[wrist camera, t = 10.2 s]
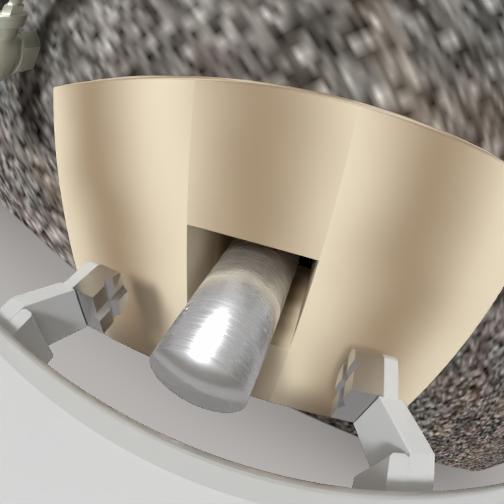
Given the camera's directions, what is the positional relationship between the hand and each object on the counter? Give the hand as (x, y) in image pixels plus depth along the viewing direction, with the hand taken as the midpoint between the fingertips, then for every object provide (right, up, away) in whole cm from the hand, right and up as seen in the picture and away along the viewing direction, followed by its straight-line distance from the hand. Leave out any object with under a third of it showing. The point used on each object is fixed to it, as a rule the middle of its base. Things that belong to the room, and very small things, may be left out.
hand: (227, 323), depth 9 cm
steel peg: (+2, +4, +6) cm, 8 cm away
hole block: (+2, +4, +6) cm, 8 cm away
